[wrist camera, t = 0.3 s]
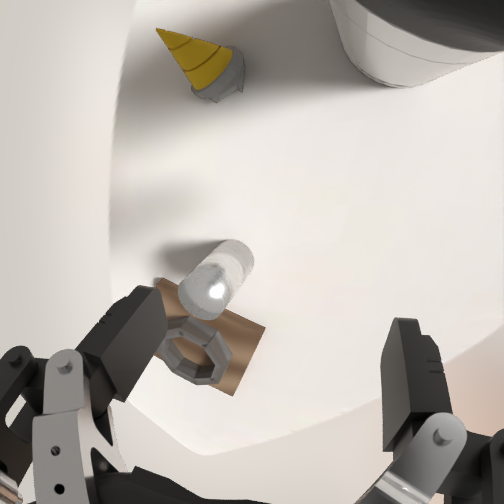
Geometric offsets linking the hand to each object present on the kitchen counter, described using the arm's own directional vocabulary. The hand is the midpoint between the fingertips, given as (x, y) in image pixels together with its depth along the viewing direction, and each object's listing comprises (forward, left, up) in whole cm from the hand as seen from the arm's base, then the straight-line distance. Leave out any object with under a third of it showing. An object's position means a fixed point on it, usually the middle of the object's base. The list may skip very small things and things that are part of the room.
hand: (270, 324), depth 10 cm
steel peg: (+11, -6, -20) cm, 23 cm away
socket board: (+25, -7, -20) cm, 33 cm away
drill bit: (-7, -13, -20) cm, 25 cm away
